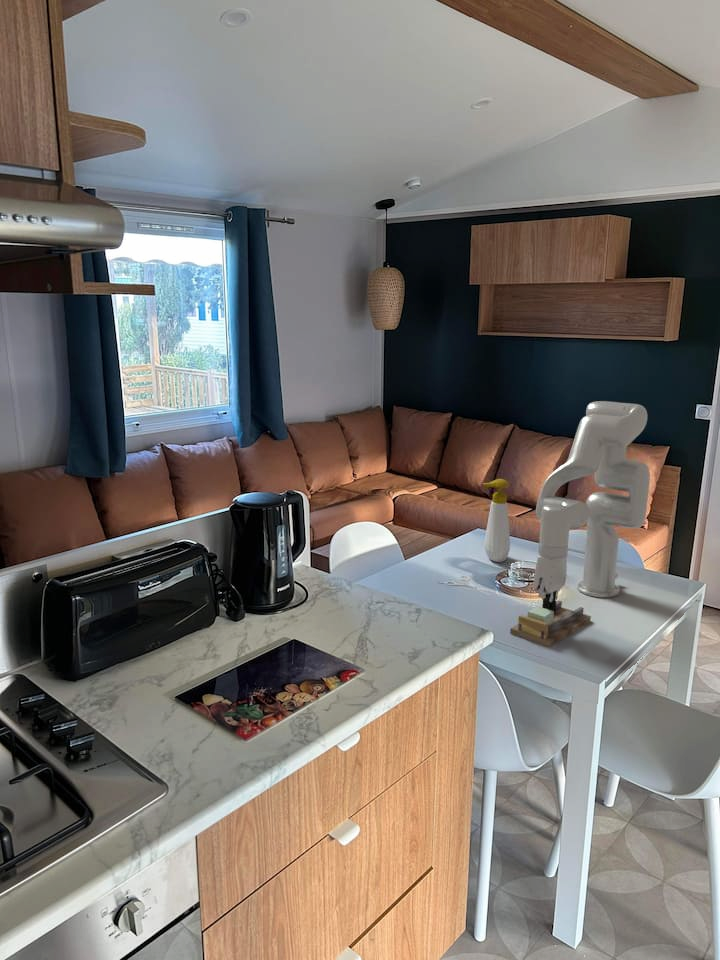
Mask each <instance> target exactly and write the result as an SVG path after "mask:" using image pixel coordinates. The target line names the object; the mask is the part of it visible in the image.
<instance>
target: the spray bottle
mask: <svg viewBox="0 0 720 960" xmlns="http://www.w3.org/2000/svg"><path fill="white" fill-rule="evenodd" d="M481 484H482V486H484V487H486V488H487V487H489V488H497V491H496V492H494V493H493V494H492V501H491V502H490V507H489V514H488V520H487V525H486V531H485V536H484V546H483V547H484V550H485V553H486V556H487V558H489V560H491V561H493V562H496V563H501V562H504V561H506V559H507V558H508V556H509V554H510V550H511V549H510V548H511V541H510V540H511V539H510V538H511V536H510V524H509V523H510V522H509V510H508V509H509V507H508V502H507V499H508V498H507V497H508V496H507V494H506V493H505V492H503V489H505V488H506V489H507V488H509V487H510V484H509V482H508V481H507V480H506V479H503V478H496V479H495V480H492V481H490V482H483V483H481Z"/></svg>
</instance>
